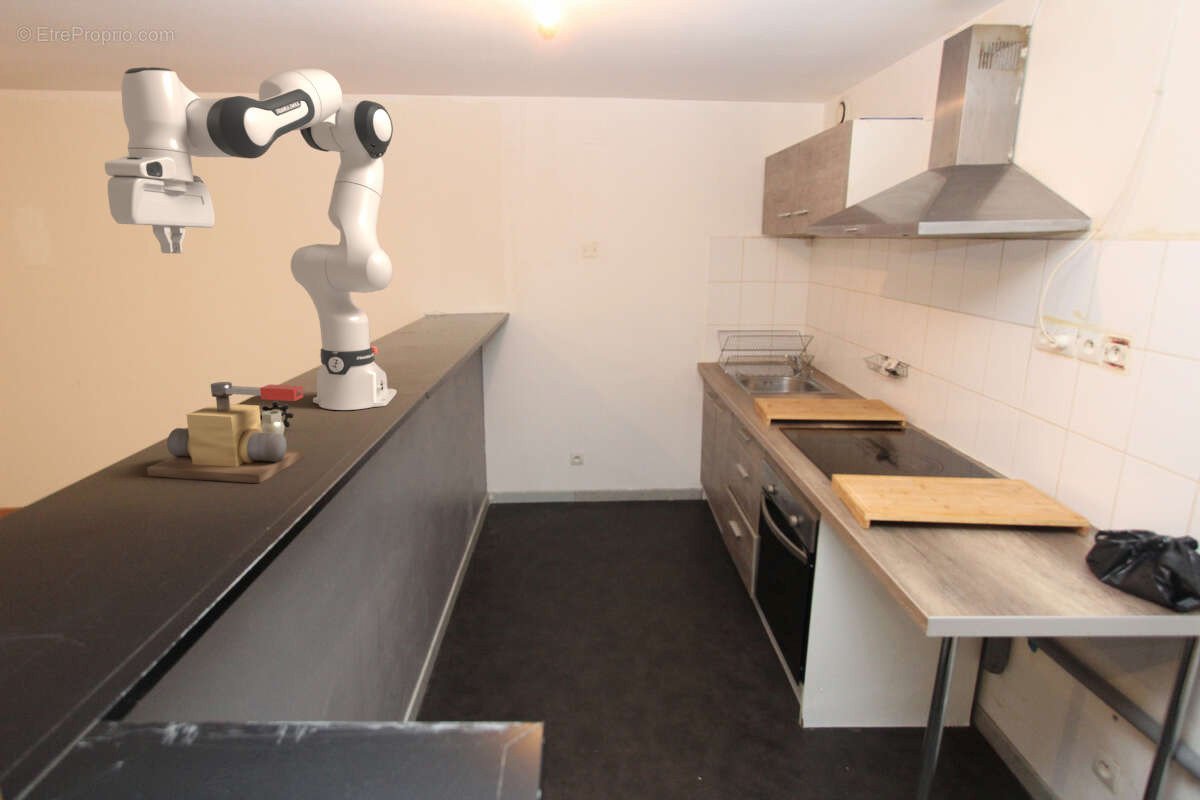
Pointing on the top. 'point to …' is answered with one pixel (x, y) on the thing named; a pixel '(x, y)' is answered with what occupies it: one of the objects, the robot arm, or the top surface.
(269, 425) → the valve
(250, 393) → the valve lever
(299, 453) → the valve manifold
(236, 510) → the top surface
